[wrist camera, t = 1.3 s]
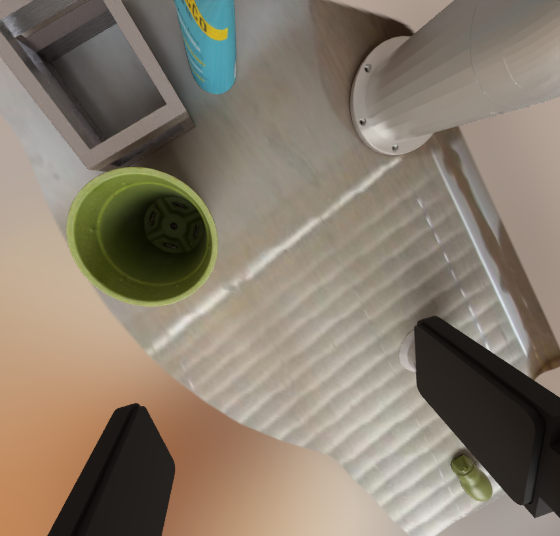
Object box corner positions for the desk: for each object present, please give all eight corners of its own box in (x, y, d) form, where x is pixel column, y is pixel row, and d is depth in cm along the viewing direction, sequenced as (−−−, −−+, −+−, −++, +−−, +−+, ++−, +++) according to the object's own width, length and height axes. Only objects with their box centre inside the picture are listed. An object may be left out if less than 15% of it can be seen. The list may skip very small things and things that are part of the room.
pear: (480, 512, 54) (458, 481, 52) (461, 487, 59) (440, 458, 58) (503, 497, 54) (481, 466, 52) (482, 473, 59) (461, 444, 57)
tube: (173, 46, 27) (60, -230, 9) (211, 20, 27) (172, -312, 9) (217, 115, 30) (195, 4, 12) (252, 91, 30) (284, -59, 12)
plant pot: (210, 167, 31) (199, 156, 21) (231, 260, 35) (230, 291, 24) (106, 182, 30) (37, 179, 19) (140, 278, 34) (97, 319, 23)
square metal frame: (121, 1, 26) (86, -58, 19) (195, 126, 30) (186, 110, 24) (30, 55, 26) (-34, 13, 19) (117, 173, 30) (88, 169, 24)
